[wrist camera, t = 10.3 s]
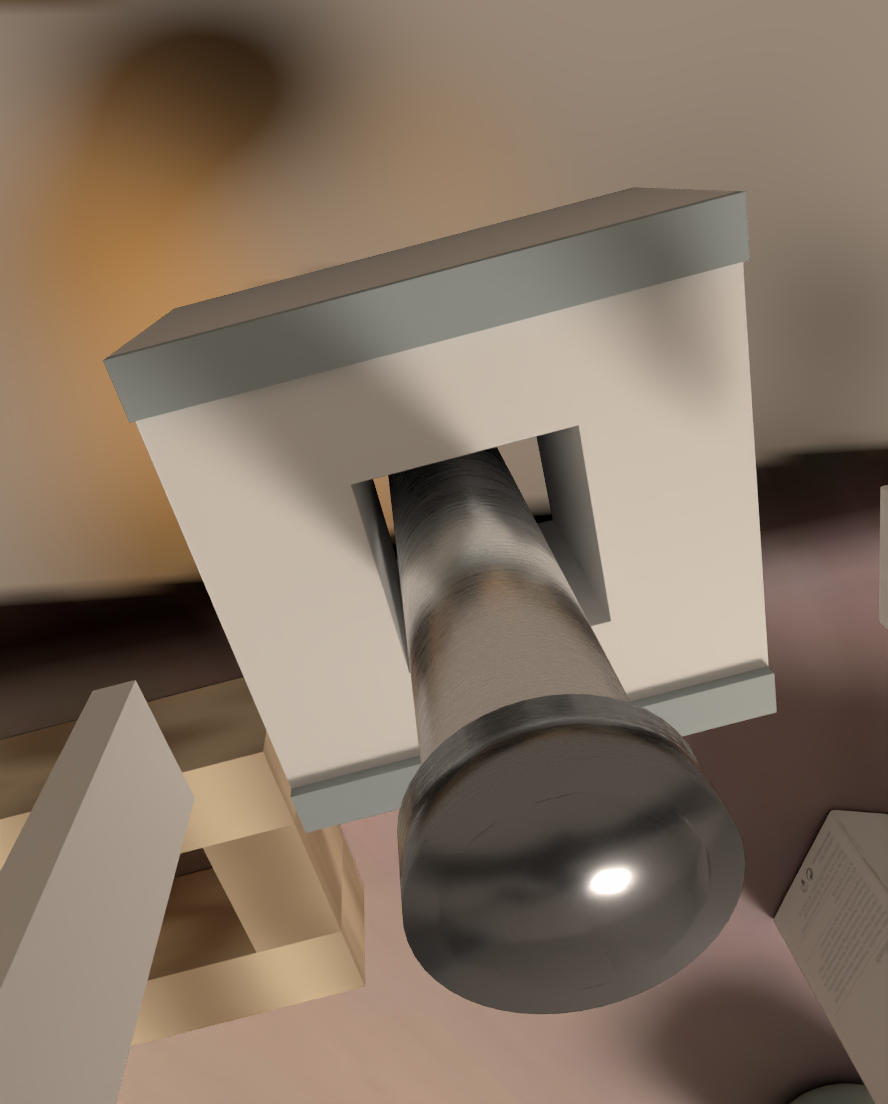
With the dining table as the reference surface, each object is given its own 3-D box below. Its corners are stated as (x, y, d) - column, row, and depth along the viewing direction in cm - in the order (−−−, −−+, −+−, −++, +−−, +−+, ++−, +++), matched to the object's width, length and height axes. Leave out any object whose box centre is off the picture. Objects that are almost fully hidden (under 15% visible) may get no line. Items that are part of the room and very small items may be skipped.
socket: (316, 686, 25) (305, 832, 20) (174, 308, 20) (102, 360, 14) (681, 591, 25) (776, 712, 20) (634, 187, 20) (745, 191, 14)
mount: (102, 953, 29) (67, 1062, 26) (-31, 748, 25) (-95, 844, 21) (364, 887, 29) (364, 986, 26) (276, 668, 25) (262, 751, 21)
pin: (394, 546, 24) (447, 1045, 10) (356, 420, 22) (359, 816, 8) (525, 512, 23) (754, 967, 10) (497, 383, 22) (733, 720, 8)
